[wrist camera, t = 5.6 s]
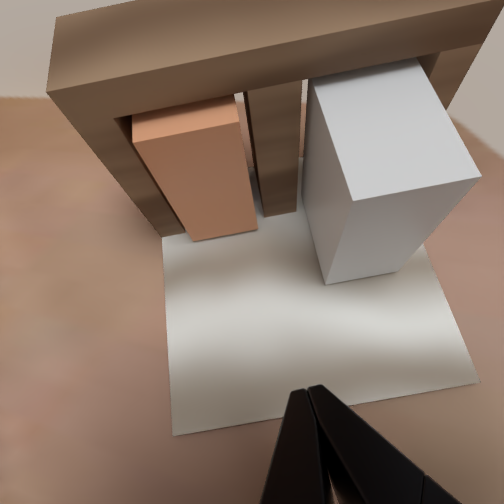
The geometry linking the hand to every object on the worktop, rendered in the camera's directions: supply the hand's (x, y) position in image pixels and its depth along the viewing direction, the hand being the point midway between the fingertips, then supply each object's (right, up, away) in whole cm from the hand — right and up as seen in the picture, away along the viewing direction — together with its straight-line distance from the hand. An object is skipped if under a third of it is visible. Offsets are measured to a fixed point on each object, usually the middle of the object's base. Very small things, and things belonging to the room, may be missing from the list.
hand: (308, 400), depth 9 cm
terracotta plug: (-4, +8, +13) cm, 15 cm away
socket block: (+1, +3, +11) cm, 11 cm away
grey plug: (+4, +5, +11) cm, 12 cm away
